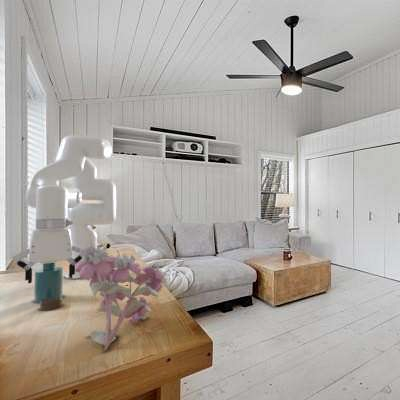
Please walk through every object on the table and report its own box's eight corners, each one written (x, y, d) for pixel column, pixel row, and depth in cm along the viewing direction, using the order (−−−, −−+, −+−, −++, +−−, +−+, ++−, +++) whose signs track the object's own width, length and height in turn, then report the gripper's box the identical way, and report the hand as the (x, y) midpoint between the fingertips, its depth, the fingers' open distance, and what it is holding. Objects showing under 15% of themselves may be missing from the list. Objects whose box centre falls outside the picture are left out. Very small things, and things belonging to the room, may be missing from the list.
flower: (188, 330, 74) (179, 236, 83) (78, 355, 57) (82, 235, 66) (156, 341, 85) (151, 258, 94) (57, 364, 69) (62, 261, 78)
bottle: (50, 294, 103) (50, 252, 103) (67, 296, 102) (68, 253, 102) (28, 302, 96) (28, 256, 96) (47, 303, 95) (47, 257, 94)
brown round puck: (52, 303, 94) (52, 296, 94) (66, 304, 94) (66, 297, 94) (35, 309, 89) (35, 301, 89) (50, 311, 89) (50, 303, 88)
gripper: (85, 223, 100) (84, 273, 99) (14, 225, 89) (13, 281, 88) (87, 224, 94) (86, 277, 94) (11, 227, 83) (10, 287, 83)
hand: (51, 279), depth 91 cm, fingers open, 9 cm apart
